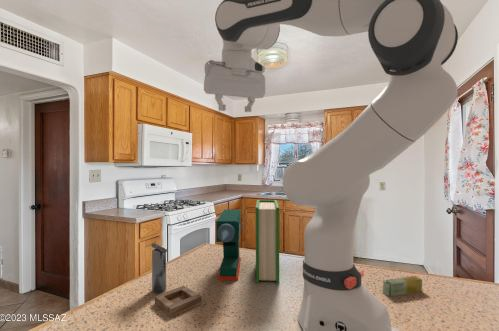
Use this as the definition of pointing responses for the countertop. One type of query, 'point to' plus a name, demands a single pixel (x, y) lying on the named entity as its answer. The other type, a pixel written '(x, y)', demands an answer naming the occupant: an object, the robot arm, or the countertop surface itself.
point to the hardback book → (267, 240)
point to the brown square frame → (177, 300)
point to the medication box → (402, 286)
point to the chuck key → (158, 268)
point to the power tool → (229, 243)
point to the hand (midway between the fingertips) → (235, 111)
